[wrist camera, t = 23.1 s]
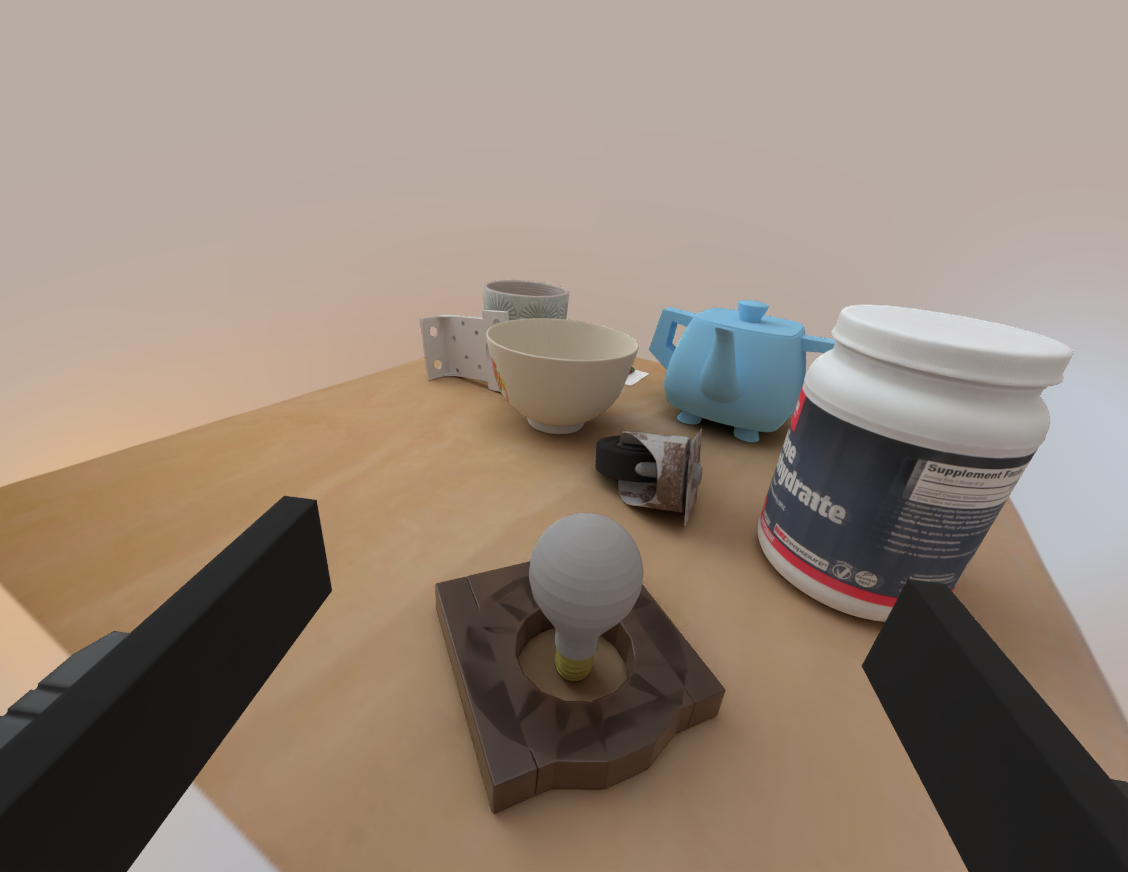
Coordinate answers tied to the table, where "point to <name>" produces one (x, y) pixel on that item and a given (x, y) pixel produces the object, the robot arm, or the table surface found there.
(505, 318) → the bracket
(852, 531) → the supplement tub
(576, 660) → the light bulb
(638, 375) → the white tile
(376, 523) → the table surface
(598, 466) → the caster wheel
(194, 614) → the robot arm
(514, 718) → the socket board
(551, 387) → the bowl
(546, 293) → the planter
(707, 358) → the teapot
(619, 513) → the table surface
